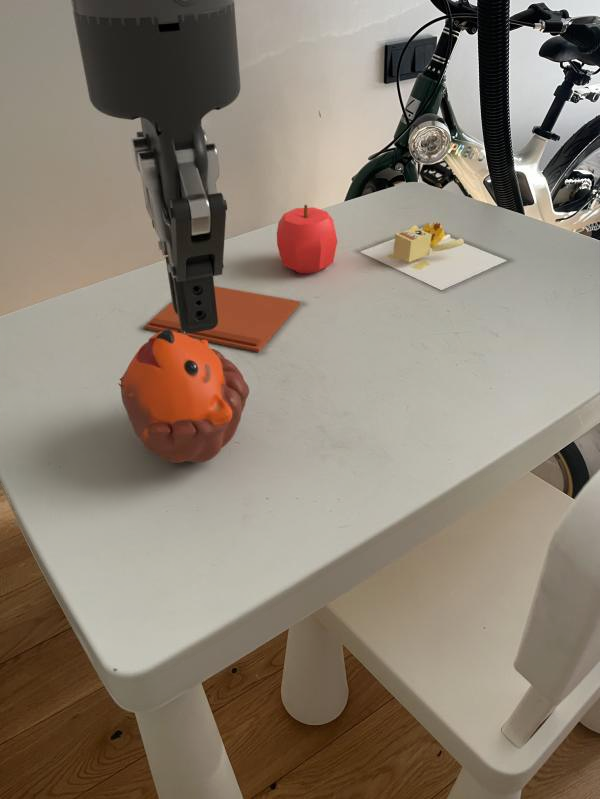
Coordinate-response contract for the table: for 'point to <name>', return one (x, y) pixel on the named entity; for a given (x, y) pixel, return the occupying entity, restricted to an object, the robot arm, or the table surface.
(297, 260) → the apple
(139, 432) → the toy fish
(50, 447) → the table surface
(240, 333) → the book
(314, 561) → the table surface
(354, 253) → the table surface
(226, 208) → the robot arm
